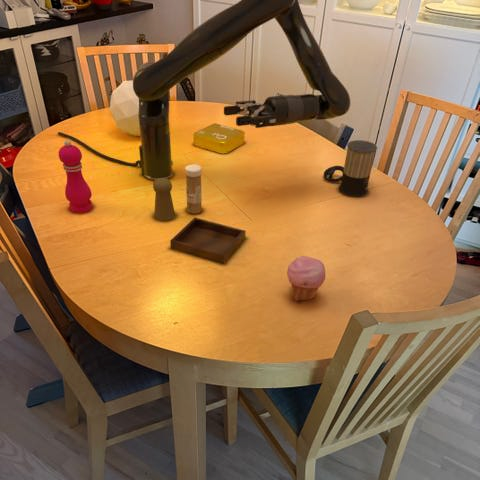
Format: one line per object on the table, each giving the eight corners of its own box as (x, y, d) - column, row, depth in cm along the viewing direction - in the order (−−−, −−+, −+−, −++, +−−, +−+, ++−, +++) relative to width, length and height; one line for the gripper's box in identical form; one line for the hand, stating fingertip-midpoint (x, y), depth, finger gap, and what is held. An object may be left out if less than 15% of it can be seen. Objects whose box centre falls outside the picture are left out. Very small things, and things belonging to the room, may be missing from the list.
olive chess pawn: (171, 222, 133) (169, 186, 126) (151, 219, 134) (147, 183, 127) (177, 212, 138) (175, 176, 131) (158, 209, 139) (155, 174, 131)
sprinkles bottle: (183, 210, 139) (181, 167, 130) (194, 205, 141) (193, 162, 133) (194, 216, 137) (193, 172, 128) (205, 210, 139) (204, 167, 130)
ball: (131, 147, 190) (120, 96, 188) (175, 133, 184) (165, 80, 181) (105, 137, 172) (93, 81, 170) (153, 122, 166) (141, 63, 164)
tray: (170, 248, 123) (170, 240, 122) (195, 225, 133) (194, 217, 131) (223, 264, 119) (224, 255, 117) (245, 238, 128) (245, 230, 127)
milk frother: (364, 199, 148) (375, 153, 138) (316, 190, 152) (323, 144, 142) (371, 181, 158) (381, 137, 148) (325, 173, 162) (332, 129, 152)
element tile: (246, 142, 180) (246, 129, 177) (224, 155, 170) (224, 141, 167) (214, 133, 186) (214, 121, 183) (191, 145, 176) (191, 132, 173)
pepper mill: (98, 204, 140) (86, 137, 126) (85, 215, 134) (70, 147, 121) (77, 200, 141) (63, 133, 128) (63, 211, 136) (47, 142, 123)
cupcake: (283, 283, 114) (288, 248, 107) (319, 285, 114) (325, 250, 107) (285, 306, 107) (290, 271, 101) (323, 308, 107) (330, 273, 101)
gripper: (273, 88, 133) (220, 93, 128) (297, 103, 123) (241, 110, 118) (271, 115, 138) (220, 121, 133) (294, 132, 128) (240, 139, 123)
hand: (230, 116), depth 125 cm, fingers open, 8 cm apart
